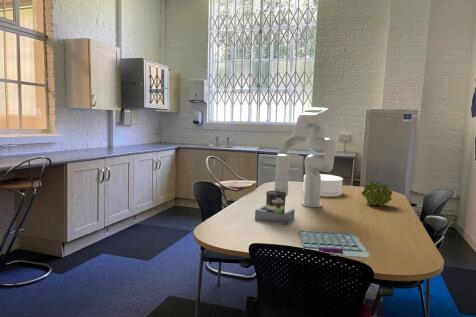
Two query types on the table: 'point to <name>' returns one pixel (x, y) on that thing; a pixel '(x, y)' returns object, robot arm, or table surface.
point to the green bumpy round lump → (377, 194)
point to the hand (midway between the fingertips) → (280, 209)
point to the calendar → (333, 243)
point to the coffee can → (275, 201)
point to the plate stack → (329, 185)
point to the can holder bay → (274, 215)
